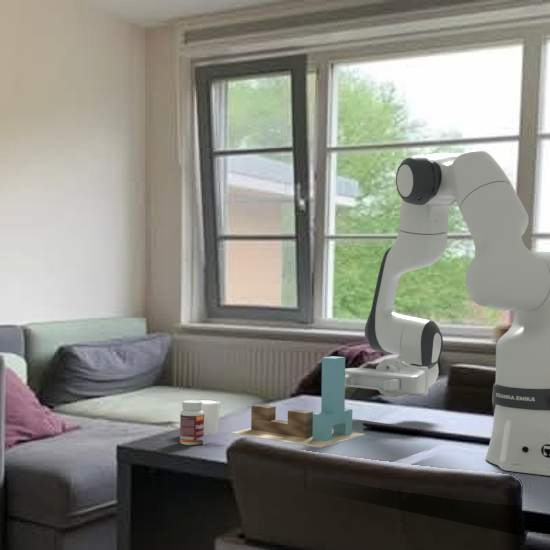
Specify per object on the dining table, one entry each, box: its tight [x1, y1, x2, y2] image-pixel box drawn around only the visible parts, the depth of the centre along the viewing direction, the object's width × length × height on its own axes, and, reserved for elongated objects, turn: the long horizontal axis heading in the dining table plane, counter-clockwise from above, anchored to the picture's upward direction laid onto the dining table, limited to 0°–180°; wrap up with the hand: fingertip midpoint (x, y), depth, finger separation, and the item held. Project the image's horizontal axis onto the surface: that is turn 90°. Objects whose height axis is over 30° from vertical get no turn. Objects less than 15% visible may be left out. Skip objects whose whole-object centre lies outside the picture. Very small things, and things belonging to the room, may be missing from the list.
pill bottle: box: [179, 399, 205, 446], centre depth 158 cm, size 5×5×8 cm
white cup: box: [197, 399, 221, 437], centre depth 167 cm, size 7×7×7 cm
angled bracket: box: [313, 355, 353, 441], centre depth 159 cm, size 3×10×16 cm, turn 143°
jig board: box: [231, 403, 367, 449], centre depth 162 cm, size 22×17×6 cm
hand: (362, 383), depth 168 cm, fingers open, 8 cm apart
